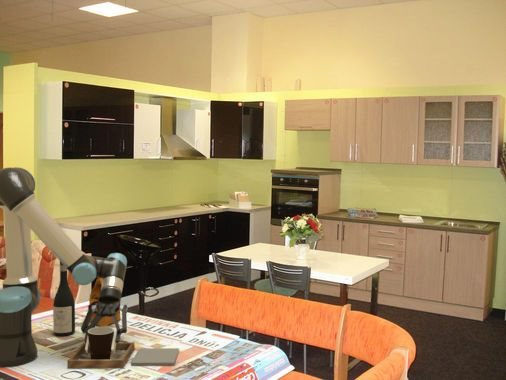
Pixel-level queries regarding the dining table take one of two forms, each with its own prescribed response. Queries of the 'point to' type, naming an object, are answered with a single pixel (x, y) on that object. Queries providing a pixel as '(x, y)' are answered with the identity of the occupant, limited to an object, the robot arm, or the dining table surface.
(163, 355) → the slate coaster
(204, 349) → the dining table surface
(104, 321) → the coffee package
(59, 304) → the wine bottle
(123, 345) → the walnut collar
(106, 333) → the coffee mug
